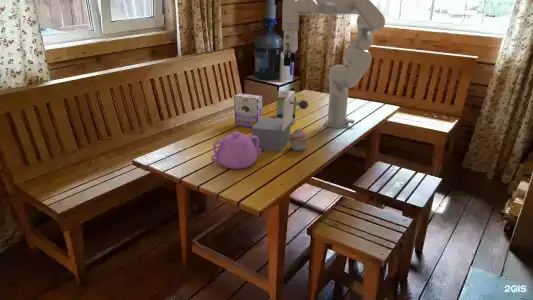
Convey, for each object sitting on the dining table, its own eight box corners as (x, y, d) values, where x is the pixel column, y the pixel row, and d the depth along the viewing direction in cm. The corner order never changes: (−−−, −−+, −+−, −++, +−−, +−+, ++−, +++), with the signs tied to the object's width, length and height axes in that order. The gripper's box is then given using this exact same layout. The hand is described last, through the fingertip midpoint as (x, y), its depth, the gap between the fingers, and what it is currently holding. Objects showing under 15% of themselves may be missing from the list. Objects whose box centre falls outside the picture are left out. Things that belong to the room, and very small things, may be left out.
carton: (290, 139, 201) (290, 120, 197) (281, 151, 187) (281, 131, 183) (262, 136, 205) (262, 117, 201) (251, 148, 191) (251, 127, 187)
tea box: (295, 124, 222) (296, 97, 217) (276, 123, 222) (277, 97, 217) (294, 115, 236) (295, 90, 230) (276, 115, 236) (276, 89, 231)
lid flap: (290, 120, 197) (309, 123, 195) (281, 130, 183) (301, 134, 181) (293, 91, 191) (312, 94, 189) (284, 100, 178) (304, 103, 175)
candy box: (262, 125, 219) (262, 95, 213) (257, 129, 215) (257, 98, 208) (239, 122, 225) (239, 92, 218) (234, 125, 220) (233, 95, 214)
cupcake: (305, 154, 185) (306, 132, 181) (285, 151, 188) (286, 130, 184) (310, 146, 193) (311, 126, 189) (291, 143, 196) (292, 123, 192)
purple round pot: (221, 180, 161) (220, 147, 155) (206, 159, 179) (204, 129, 174) (273, 171, 169) (273, 139, 163) (253, 151, 187) (253, 122, 182)
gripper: (293, 29, 183) (292, 68, 190) (302, 25, 198) (301, 61, 205) (277, 28, 185) (277, 67, 192) (287, 24, 200) (286, 60, 207)
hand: (289, 63), depth 198 cm, fingers open, 9 cm apart
